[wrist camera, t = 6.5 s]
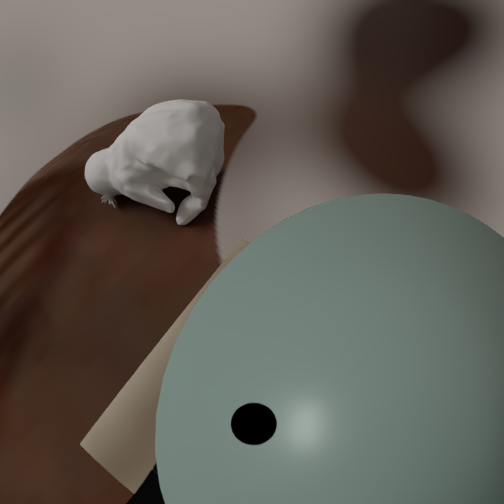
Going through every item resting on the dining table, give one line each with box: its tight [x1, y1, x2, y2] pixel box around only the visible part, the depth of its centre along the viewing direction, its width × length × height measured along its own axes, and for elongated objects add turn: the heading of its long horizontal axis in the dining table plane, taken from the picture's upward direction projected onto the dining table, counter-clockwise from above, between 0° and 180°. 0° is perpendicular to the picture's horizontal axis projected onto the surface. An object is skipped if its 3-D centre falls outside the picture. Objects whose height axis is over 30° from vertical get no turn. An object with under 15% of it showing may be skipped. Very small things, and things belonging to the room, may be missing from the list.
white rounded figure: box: [85, 99, 224, 225], centre depth 21 cm, size 6×8×12 cm
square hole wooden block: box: [80, 239, 250, 494], centre depth 13 cm, size 14×14×4 cm
